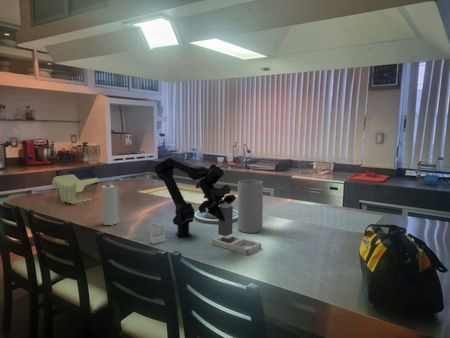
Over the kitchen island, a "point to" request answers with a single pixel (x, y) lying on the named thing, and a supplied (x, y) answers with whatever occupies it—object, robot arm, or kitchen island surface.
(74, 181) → the pale green plastic piece
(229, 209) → the iec plug
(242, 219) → the cylinder vase
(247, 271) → the kitchen island surface
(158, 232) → the white angled block
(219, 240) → the beige divided rectangular frame
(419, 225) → the kitchen island surface
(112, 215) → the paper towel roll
